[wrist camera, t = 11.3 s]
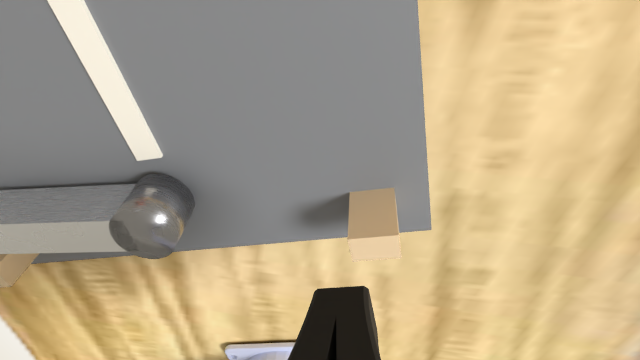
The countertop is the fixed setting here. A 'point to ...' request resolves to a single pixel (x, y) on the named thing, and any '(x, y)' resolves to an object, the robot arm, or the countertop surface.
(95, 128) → the plate
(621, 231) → the countertop surface
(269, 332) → the countertop surface
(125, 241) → the lock bar
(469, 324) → the countertop surface
